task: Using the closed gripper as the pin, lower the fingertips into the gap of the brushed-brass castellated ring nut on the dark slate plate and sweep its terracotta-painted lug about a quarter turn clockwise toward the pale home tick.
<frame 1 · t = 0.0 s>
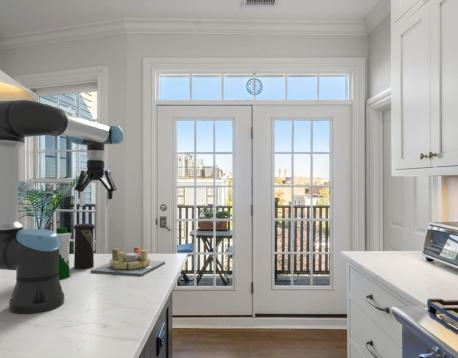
hand: (95, 206, 161), 28 cm above the countertop, fingers open, 13 cm apart
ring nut: (129, 257, 160), point 5 cm above the countertop, hinge at 0.0°
container: (83, 267, 160), on the countertop
slate plate: (129, 267, 159), on the countertop
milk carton: (56, 278, 142), on the countertop
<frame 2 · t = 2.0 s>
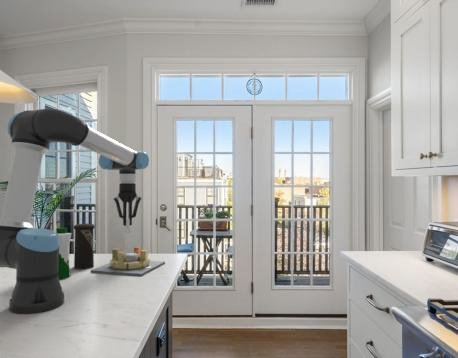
hand: (127, 232, 167), 15 cm above the countertop, fingers closed
nothing on the countertop moved.
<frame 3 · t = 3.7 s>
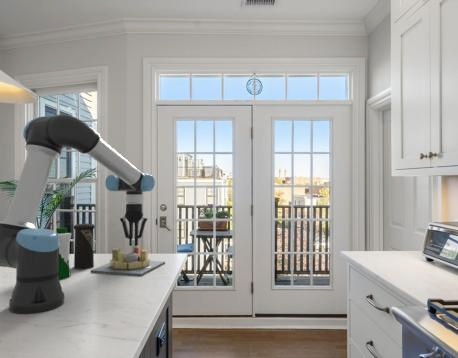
hand: (133, 252, 167), 5 cm above the countertop, fingers closed
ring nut: (129, 257, 160), point 5 cm above the countertop, hinge at 0.0°, touching gripper
everything else where it was.
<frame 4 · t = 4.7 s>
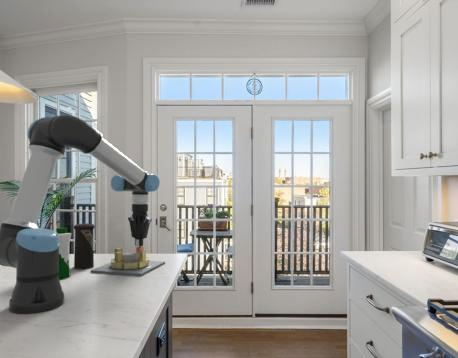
hand: (138, 252, 167), 5 cm above the countertop, fingers closed
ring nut: (129, 257, 160), point 5 cm above the countertop, hinge at 13.6°, touching gripper
everything else where it was.
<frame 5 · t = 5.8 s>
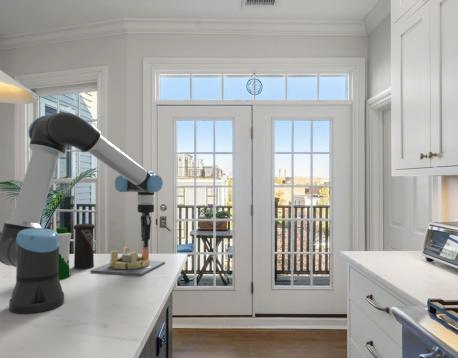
hand: (145, 253, 164), 5 cm above the countertop, fingers closed
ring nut: (129, 257, 160), point 5 cm above the countertop, hinge at 48.0°, touching gripper
everything else where it was.
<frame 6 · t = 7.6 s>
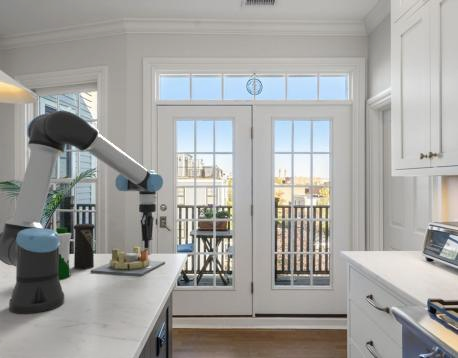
hand: (147, 254, 161), 6 cm above the countertop, fingers closed
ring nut: (129, 257, 160), point 5 cm above the countertop, hinge at 87.4°
everything else where it was.
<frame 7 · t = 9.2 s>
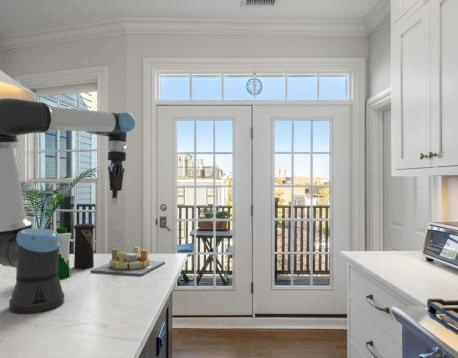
hand: (115, 205, 152), 29 cm above the countertop, fingers closed
nothing on the countertop moved.
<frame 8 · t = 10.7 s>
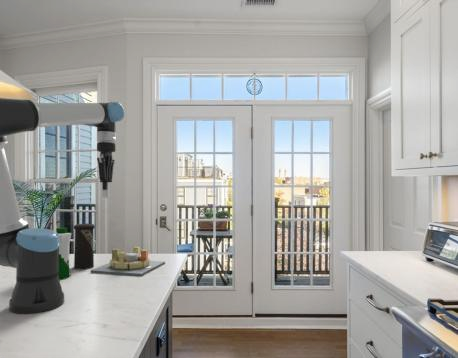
hand: (105, 197, 149), 32 cm above the countertop, fingers closed
nothing on the countertop moved.
at the end: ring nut at +87° (first picture: +0°); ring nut touching nothing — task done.
